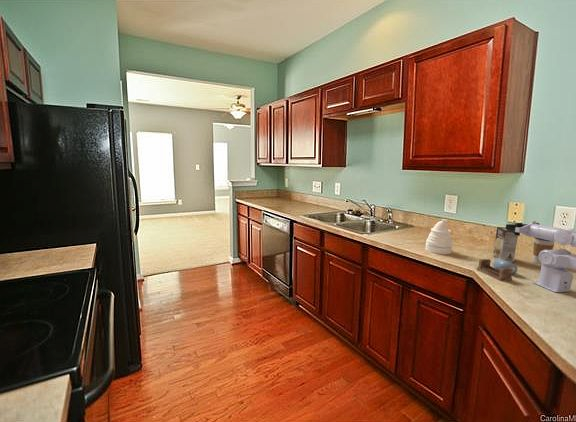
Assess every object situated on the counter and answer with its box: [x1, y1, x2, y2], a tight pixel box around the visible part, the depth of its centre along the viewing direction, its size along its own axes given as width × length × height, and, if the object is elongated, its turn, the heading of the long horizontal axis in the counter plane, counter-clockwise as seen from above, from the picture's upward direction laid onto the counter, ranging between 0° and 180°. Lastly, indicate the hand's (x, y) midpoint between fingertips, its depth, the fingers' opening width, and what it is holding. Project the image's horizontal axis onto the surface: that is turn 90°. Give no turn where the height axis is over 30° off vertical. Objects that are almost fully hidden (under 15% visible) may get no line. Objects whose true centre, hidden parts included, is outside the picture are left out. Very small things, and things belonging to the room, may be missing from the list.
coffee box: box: [492, 226, 519, 263], centre depth 155 cm, size 9×6×16 cm
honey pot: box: [425, 218, 453, 255], centre depth 167 cm, size 13×13×18 cm
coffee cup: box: [532, 237, 556, 265], centre depth 151 cm, size 8×8×15 cm
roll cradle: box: [476, 258, 513, 282], centre depth 134 cm, size 6×13×5 cm, turn 10°
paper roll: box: [492, 258, 519, 276], centre depth 139 cm, size 8×5×5 cm, turn 10°
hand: (513, 226), depth 139 cm, fingers open, 7 cm apart
